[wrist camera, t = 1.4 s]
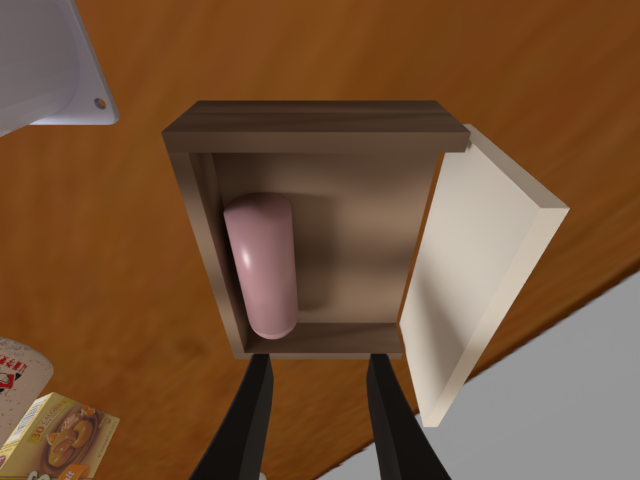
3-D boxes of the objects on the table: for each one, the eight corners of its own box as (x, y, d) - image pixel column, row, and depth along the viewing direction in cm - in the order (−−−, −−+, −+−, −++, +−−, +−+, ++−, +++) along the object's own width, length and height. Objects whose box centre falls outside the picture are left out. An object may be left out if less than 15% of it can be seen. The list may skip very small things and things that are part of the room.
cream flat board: (453, 124, 14) (540, 208, 8) (470, 124, 14) (569, 208, 8) (399, 325, 23) (423, 427, 18) (409, 325, 23) (437, 427, 18)
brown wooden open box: (198, 100, 15) (161, 132, 11) (435, 100, 15) (471, 132, 11) (246, 308, 25) (234, 359, 21) (389, 308, 25) (400, 359, 21)
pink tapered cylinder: (232, 192, 16) (215, 228, 13) (293, 192, 16) (288, 228, 13) (256, 309, 22) (247, 349, 19) (300, 309, 22) (298, 349, 19)
